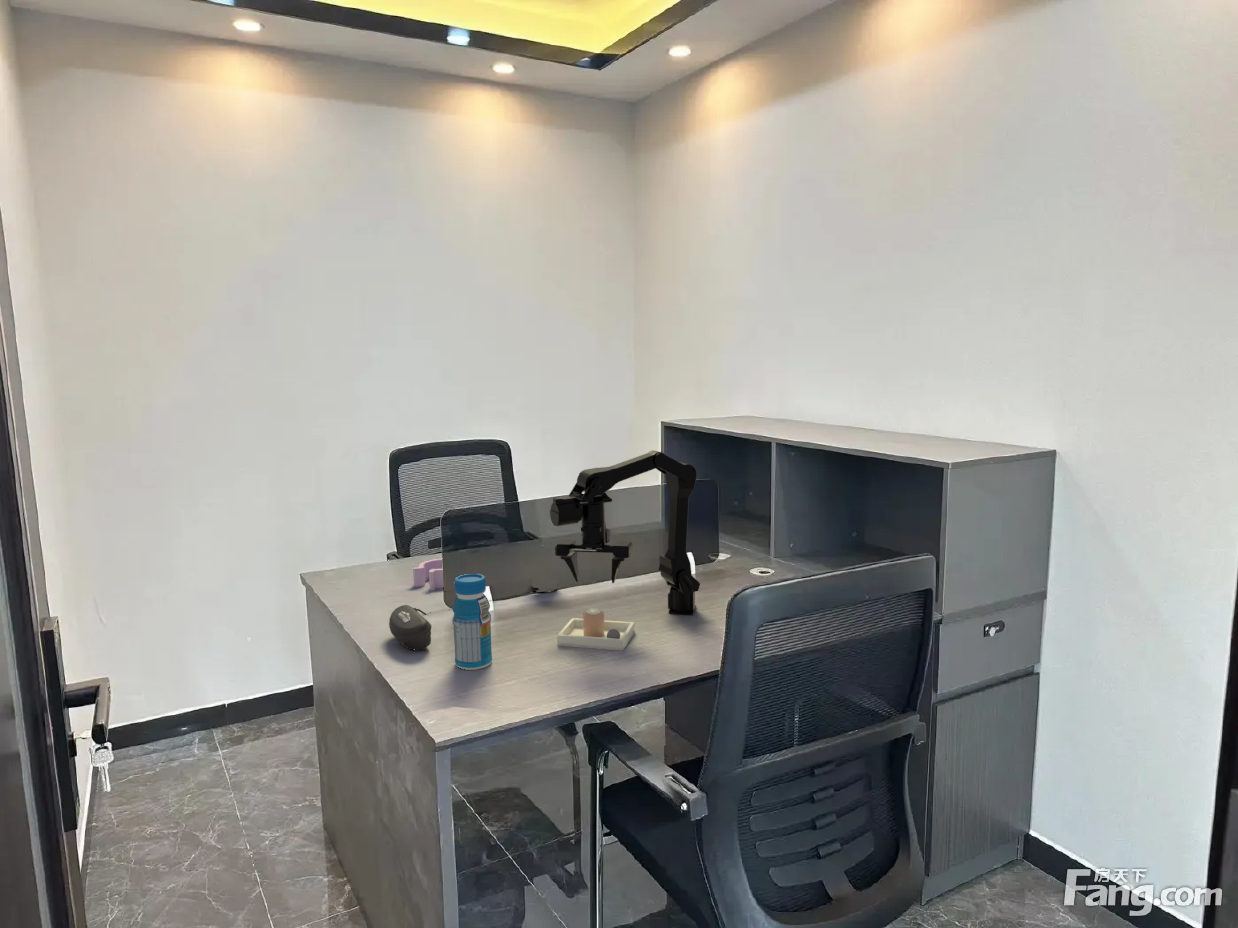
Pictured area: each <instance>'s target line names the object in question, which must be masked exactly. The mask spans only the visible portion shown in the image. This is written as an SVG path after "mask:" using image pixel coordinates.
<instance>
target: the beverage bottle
mask: <svg viewBox="0 0 1238 928" xmlns="http://www.w3.org/2000/svg"><path fill="white" fill-rule="evenodd" d="M486 582H487V580H486V576H485V575H483V574H482V573H477V574H464V575H460V576H458V577H456V578H455V581H454V584H455V586H454V592H455V594H456V598H454V601H453V603H452V607H451V608H452V609H451V611H452V612H453V616H452V621H451V622H452V625H453V638H454V642H453V643H454V663H455V666H456V667H457V668H458V667H459V668H458V669H460V668H461V670H464V669H465V670H464V671H477V670H481V669H484V668H487V667H488V666H490V665H491V664H492V662H493V654H492V630H491V629H492V627H491V623H492V615H491V612H490V611H489V610H490V608H491V605H490V601H489V600H488V599H489V598H487V596H486V594H485V592H486V589H487V585H486Z"/></svg>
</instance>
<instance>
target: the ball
mask: <svg viewBox="0 0 1238 928" xmlns="http://www.w3.org/2000/svg"><path fill="white" fill-rule="evenodd" d="M607 638H615V639H620V633H619V631H618V630H616V629H611V630H609V631H608V633H607Z"/></svg>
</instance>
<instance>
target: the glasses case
mask: <svg viewBox="0 0 1238 928" xmlns="http://www.w3.org/2000/svg"><path fill="white" fill-rule="evenodd" d="M419 612H420V613H419ZM422 614H423V615H422ZM424 615H425V616H427V613H426V612H424V611H423V610H422V609H419V608H417V607H413V606H411V605H408V604H404V605H399V606H398V607H396V608H395V609H394V610H393V611H392V612H391V614H390V617H389V622H388V627H389V630H390V633H391V634H392V636H393V637H394V638H395V639H396V640H398V642H400V643H401V645H402V646H404V647H406V646H407V647H408V648H407V647H406V648H407V649H409V648H411V649H415V650H418V651H422V650H424V649H427V647H429V646H430V645H431V643H432V637H431V635H432V627H433V626H432V624H431V622H429V621H428V620H427V619H426V618H425V617H424ZM411 649H410V650H411ZM415 650H414V651H415Z"/></svg>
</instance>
